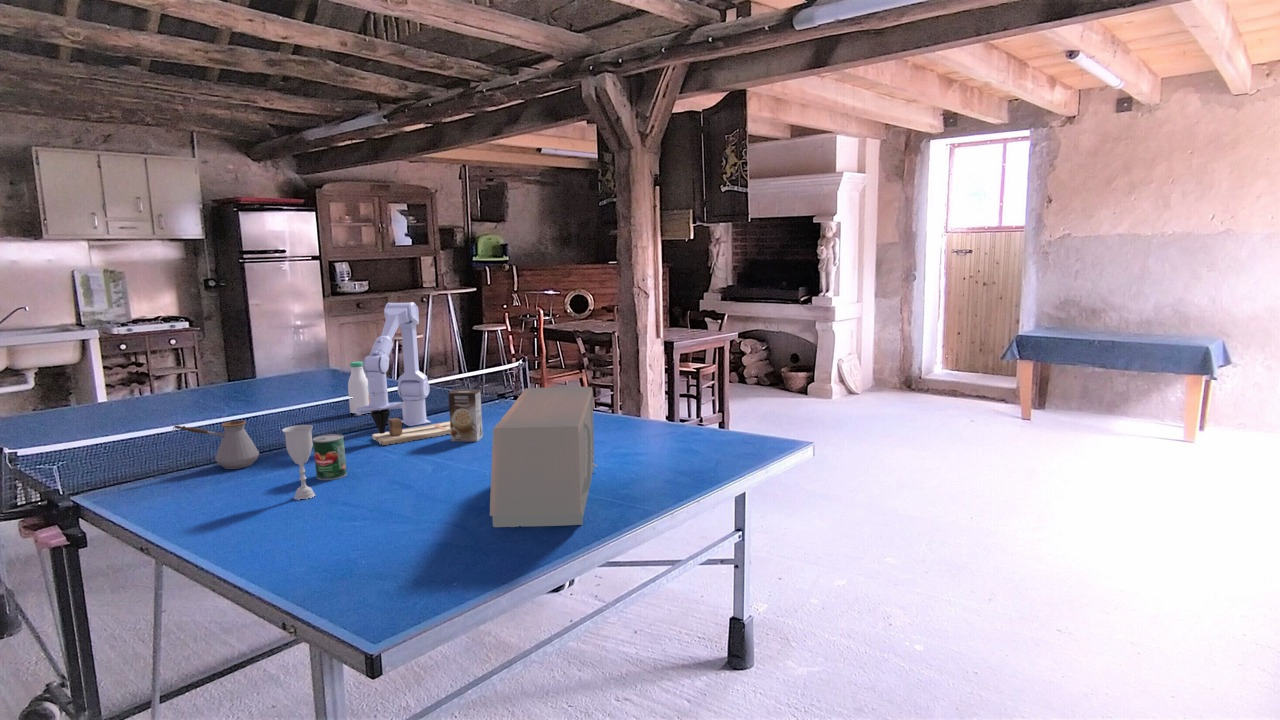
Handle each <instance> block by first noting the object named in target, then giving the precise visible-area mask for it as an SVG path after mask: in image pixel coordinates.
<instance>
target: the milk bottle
mask: <svg viewBox="0 0 1280 720" xmlns="http://www.w3.org/2000/svg"><path fill="white" fill-rule="evenodd" d="M349 367H350V370H351V372H350V376H349V379H348V381H347V382H348V383H347V390H348V391H347V392H348V393H347V394H348V402H349V403H348V405H349V412H350V413H356V409H355V408H360V407H364V406H369V405H370V401H369V390H368V379H367V378H366V376H365V372H364V370H363V361H351V362H349ZM349 397H353V398H352V399H349Z"/></svg>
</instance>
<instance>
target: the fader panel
mask: <svg viewBox="0 0 1280 720" xmlns="http://www.w3.org/2000/svg"><path fill="white" fill-rule="evenodd" d="M446 434H449V435H451V429H450V420H449V421H443V422H438V423H432V424H431V423H430V424H425V425H420V426H419V425H418V426H413V427H408V428H402V434H401V435H395V436H393V435H391V434H389V431H385V433H383V434H380V433H379V432H378V433H373V434H371V437H372V438H373V439H372V440H374V441H375V440H376V441H375V442H377V441H378V442H379V443H378V442H377V443H378V444H379V445H381V444H382V445H381V446H383V445H387V446H390V445H389V444H393V445H396V444H395V443H398V444H402V442H404V443H409V442H414V441H413V440H415V441H420V440H419V439H421V440H426V439H431V438H430V437H432V438H437V437H441V435H443V436H447V435H446ZM436 436H437V437H436ZM425 438H426V439H425ZM408 441H409V442H408Z"/></svg>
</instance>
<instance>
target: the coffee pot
mask: <svg viewBox="0 0 1280 720" xmlns="http://www.w3.org/2000/svg"><path fill="white" fill-rule="evenodd" d="M245 424H247V421H246V420H231V421H226V422H223V423H222V424H220V425H221V427H222V428H223V431H224V432H223V433H222V432H215V431H210V430H206V429H201V428H198V427H197V428H196V427H186V426H185V425H183V426H181V425H174V426H173V428H172V430H171V431H172V433H173V434H174V433H176V431H177V430H182V431H188V432H191V433H197V434H198V433H199V434H203V435H204V434H207V435H211V436H218V437H222V438H221V441H220V445H219V448H218V450H217V452H216V455H215V457H214V459H215V462H216V463H217V465H219V466H221V467H223V469H225V470H237V469H242V468H247V467H250V466H252V465H253V464H254V463H255V462H256V461H257V460H258V458H259V455H260V452H259V450H258V448H257V447H256V445H255V443H254V442H253V440H252V438H251V437H250V436H249V434H248V432H247V431H246V428H245Z"/></svg>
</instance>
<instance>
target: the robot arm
mask: <svg viewBox="0 0 1280 720" xmlns="http://www.w3.org/2000/svg"><path fill="white" fill-rule="evenodd" d="M383 313H384V314H383V315H384V318H385V321H384V325H383V328H382V331H381V335H380V336H377V338H375V341H374V343H373V346H372V348H371V351H370V353H369V355H367V356H366V357H364V358H363V361H362V362H363V371H364V373H365V376H366V378H367V379H368V390H369V401H370V405H369V406H364V407H360V408H355V409H356V414H357V415H356V416H362V415H361V414H365V413H370V414H369V415H370V416H371V418H372V419H373V421H374V424H375V426H376V428H377V432H378V433H380V434H383V433H385V432H386V426H387V422H388V419H389V417H390V414H391V411H390V410H397V409H398V410H400V409H401V411H402V419H400V420H401V423H402V424H404V425H406V426H408V427H411V426H413V427H415V426H419V425H420V426H421V425H424V424H425V425H427V424H431V420H428V419H427V409H426V406H427V405H426V399H427V397H428V396H429V394H430V383H429V380H428V376H427V375H426V374H425V373H423V372H422V371H420V365H419V362H420V361H419V352H418V349H419V348H418V337H417V336H418V334H417V325H419V324H420V316H419V307H418V305H417V304H416V303H415V302H413V301H411V302H387V303H386V304H385V306H384V309H383ZM398 328H400V329H401V342H402V355H403V356H402V357H403V368H404V369H403V370H404V371H403V373H402V374H401V375H400V376H399V377H398V379H397V381H398V382H397V383H398V384H397V394H398V396H399V397H400V398H401V400H403V401H394V402H389V393H388V383H387V380H388V379H387V372H388V371H389V368H390V367H389V366H390V354H391V352H392V349H393V347H394V342H393V338H394V336H395V334H396V332H397V331H398Z"/></svg>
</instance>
